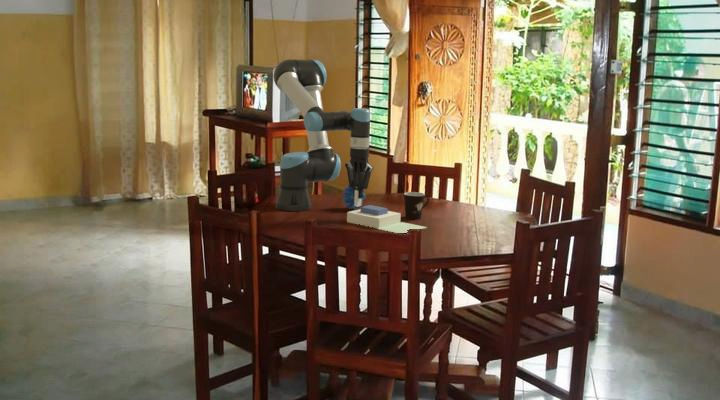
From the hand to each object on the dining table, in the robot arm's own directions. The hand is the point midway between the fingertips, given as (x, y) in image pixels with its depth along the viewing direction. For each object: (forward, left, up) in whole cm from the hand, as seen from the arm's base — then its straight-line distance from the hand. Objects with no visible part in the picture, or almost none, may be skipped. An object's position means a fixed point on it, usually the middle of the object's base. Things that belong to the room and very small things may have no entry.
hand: (357, 205), depth 310 cm
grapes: (-13, +14, -6) cm, 20 cm away
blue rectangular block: (+8, 0, -2) cm, 8 cm away
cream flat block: (+8, 0, -6) cm, 10 cm away
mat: (+22, 0, -6) cm, 23 cm away
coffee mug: (+15, +20, -6) cm, 26 cm away
